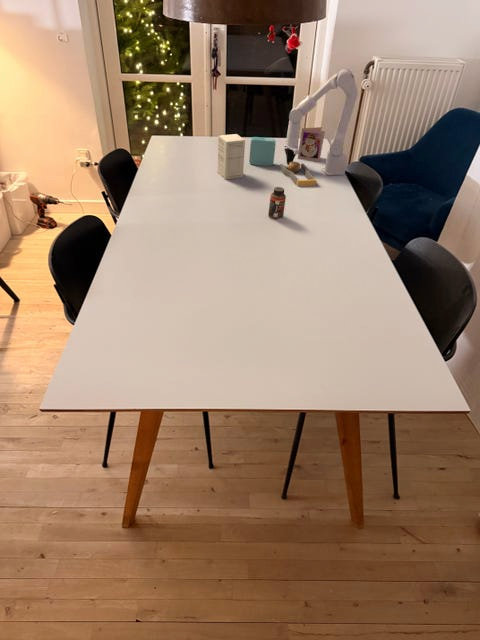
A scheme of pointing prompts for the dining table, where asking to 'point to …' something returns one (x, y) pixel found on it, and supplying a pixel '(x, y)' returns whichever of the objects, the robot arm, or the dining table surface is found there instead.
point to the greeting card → (311, 144)
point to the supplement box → (231, 156)
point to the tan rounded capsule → (294, 167)
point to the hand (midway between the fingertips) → (289, 164)
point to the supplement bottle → (277, 203)
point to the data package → (262, 151)
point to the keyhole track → (309, 182)
